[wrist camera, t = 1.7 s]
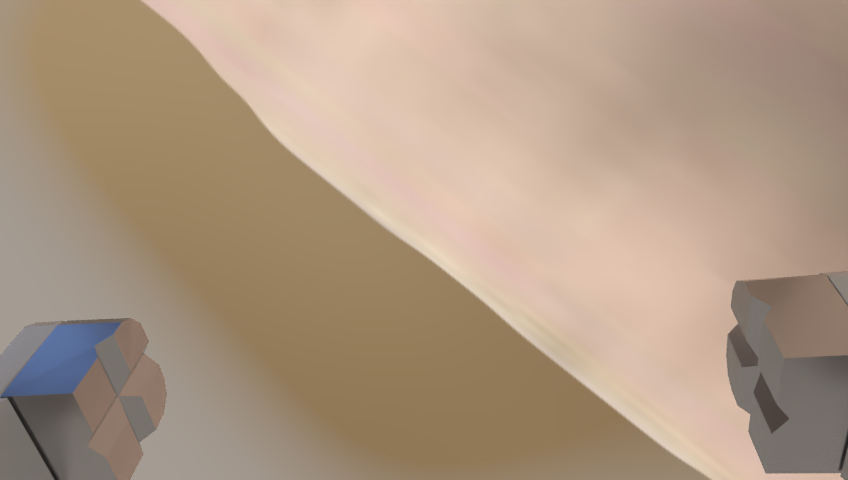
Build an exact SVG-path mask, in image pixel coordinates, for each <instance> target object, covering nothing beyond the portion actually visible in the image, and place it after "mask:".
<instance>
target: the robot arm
mask: <svg viewBox="0 0 848 480" xmlns="http://www.w3.org/2000/svg"><path fill="white" fill-rule="evenodd" d="M731 308H732V311H733V313H734V315H735V317H736V319H737V322H738V324H737V325H736V326H735V327H734V328H733V329H732V331H731V332H730V333H729V334H728V339H727V353H726V357H727V368H728V377H729V381H730V385H731V389H732V392H733V394H734V397H735V400H736V402H737V405H738V406H739V407H741V408H742V409H744V410H745V411H747V412H748V413H750V414H751V415H750V423H749V431H748V432H749V434H750V437H751V439H752V442H753V444H754V446H755V449H756V451H757V453H758V456H759V458H760V461H761V463H762V465H763V468H764V470H765V473H841V477H842V478H843V479H844V480H848V271H842V272H831V273H821V274H819V275H809V276H795V277H781V278H767V279H753V280H739V281H736V283H735V286H734V289H733V293H732V301H731ZM148 342H149V340H148V338H147V336H146V334H145V331H144V329H143V327H142V325H141V323H140V322H138V321H136V320H133V319H131V318H125V319H98V320H75V321H66V322H65V321H55V322H41V323H40V322H39V323H34V324H31V325H28V326H26V327H24V329H23V330H22V331H21V332H20V333H19V334H18V335H17V337H16V338H15V339H14V340H13V341H12V342H11V343H10V345H9V346H8V347H7V348H6V349H5V350H4V351H3V353H2V354H1V355H0V480H130V479H131V477H132V475H133V473H134V471H135V469H136V467H137V466H138V463H139V462H140V460H141V458H142V456H143V451H142V448H141V445H140V441H142V440H143V439H144V438H146V437H147V436H148V435H150V434H151V433H152V432H154V431H155V430H156V429H157V427H158V425H159V423H160V420H161V419H162V416H163V414H164V409H165V403H166V396H167V392H166V385H165V379H164V376H163V373H162V371H161V368H160V366H159V365H158V364H157V363H156V362H155V361H153V360H152V359H151V358H149V357H148V356H147V355H145V354H144V352H145V350H146V347H147V345H148Z"/></svg>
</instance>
